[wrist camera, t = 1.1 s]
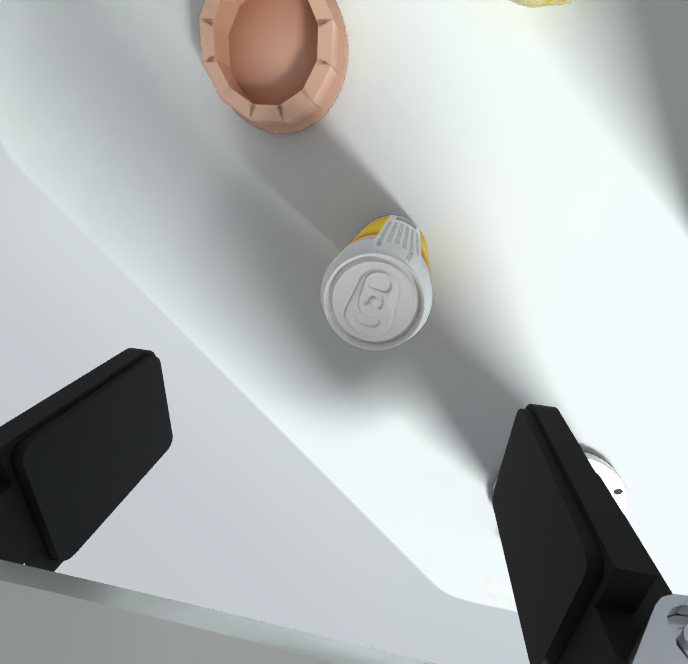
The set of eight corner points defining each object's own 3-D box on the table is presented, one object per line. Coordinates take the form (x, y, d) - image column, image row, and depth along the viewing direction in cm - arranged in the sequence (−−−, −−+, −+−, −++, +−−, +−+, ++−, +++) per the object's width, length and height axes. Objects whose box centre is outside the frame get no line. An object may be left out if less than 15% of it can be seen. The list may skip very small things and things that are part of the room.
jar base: (344, 136, 30) (336, 132, 27) (220, 130, 31) (200, 125, 28) (352, -37, 25) (344, -65, 23) (209, -35, 27) (184, -60, 24)
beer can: (348, 271, 34) (303, 335, 20) (369, 204, 31) (333, 227, 18) (411, 292, 34) (407, 372, 20) (437, 227, 31) (453, 268, 18)
